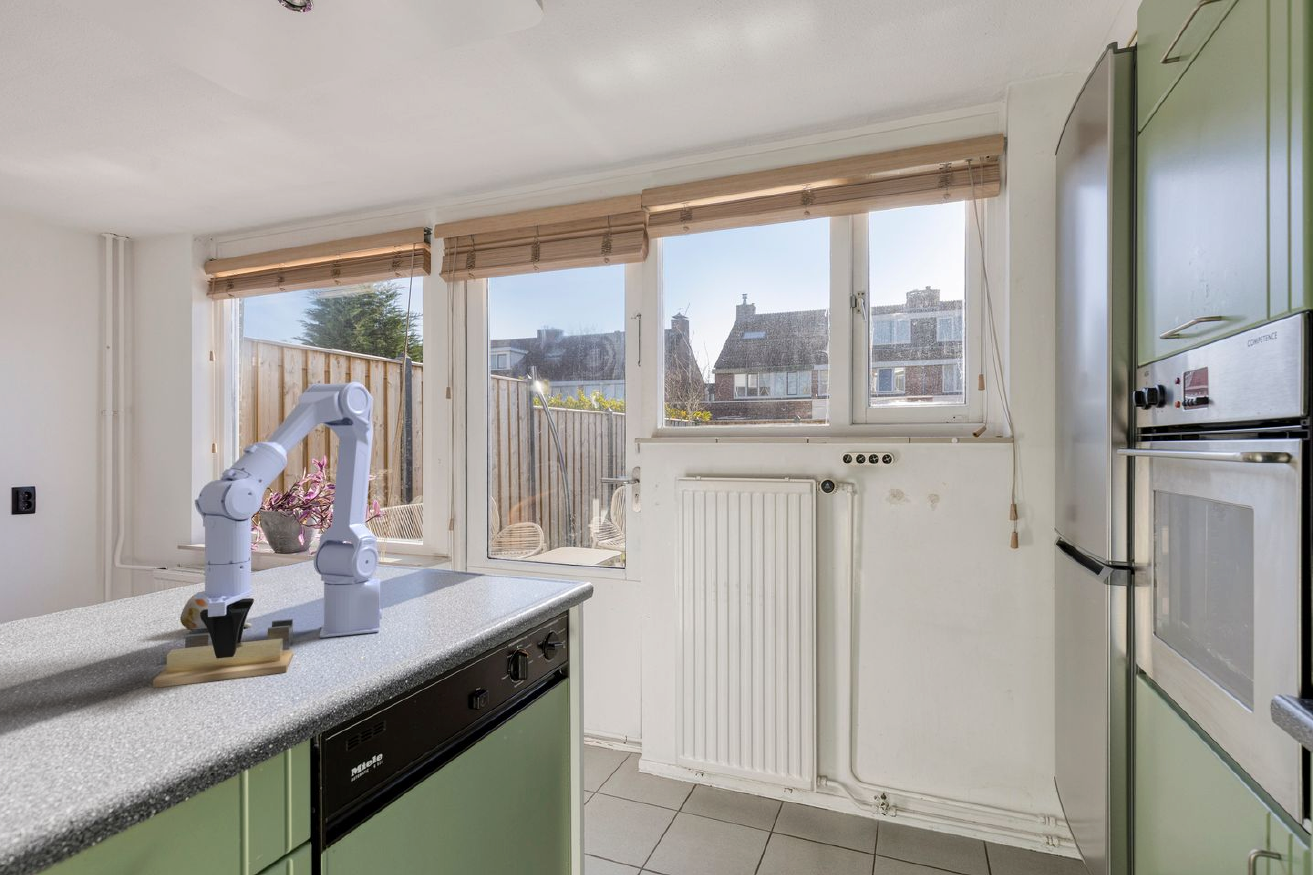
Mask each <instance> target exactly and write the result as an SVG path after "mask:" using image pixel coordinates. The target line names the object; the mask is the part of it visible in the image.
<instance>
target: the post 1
mask: <svg viewBox="0 0 1313 875" xmlns="http://www.w3.org/2000/svg"><path fill="white" fill-rule="evenodd" d="M184 642H185V643H184V645H185V646H184V648H191V647H201V646H211V645H213V644H212V640H211V637H210V634H209V631H208V629H207V627H199V628H194V629H193V631H192V634H187V635H186V636H185V641H184Z"/></svg>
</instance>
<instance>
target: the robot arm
mask: <svg viewBox="0 0 1313 875" xmlns="http://www.w3.org/2000/svg"><path fill="white" fill-rule="evenodd" d="M297 401H298V403H297V404H296V405H295V407H294V408H293V409H292V411H291V412H290V413H289V414H288V416H287V417H286V418H285V419H284V420H283V421H282V422H281V424H280V425H279V426H278V427H277V429H276V430H275V431H274V432H273V433H272V434H271V436H270V437H269V438H268V440H267V441H258V442H254V443H253V444H247V445H246V446H245V448H243V450H242V451H243V452H244V453H243V454H242V455H241V456H240V457H239V458H238V459H237V460H236V461H235V462H234V463H233V465H232V466H230V467H229V468H227V469H225V470H224V471H222V473H221V475H222V476H220V479H215V480H212V481H209V482H208V483H207V484H205V485H204V486H203V488H202V489H201V490H200V492H199V495H198V498H196V499H194V505H195V508H196V511H197V512H198V514H199V515H201V518H202V527H203V528H204V591H205V592H202V591H198V592H196V593H194V595H195V599H203V600H204V601H205V602H206V603H207V604H208V609H204V610H202V611H201V612H200V618H201V620H202V621H203V622H204V624H205V625H206V627H207V629H208V631H209V634H210V637H211V640H212V644H213V648H214V652H215V655H216V658H217V659H218V658H228V657H233V656H234V654H235V650H236V646H237V643H241V642H242V637H243V633H244V628H245V627H244V624H245V621H246V622H247V620H246V618H247V617H248V615H249V612H250V610H251V608H252V607H253V606H252V605H253V604H254V602H255V599H254V598H253V597H252V598H249V597H251V596H252V595H253V591H254V590H253V588H252V516H253V515H255V514H256V513H258V512H259V511H260V510H261V509H260V508H261V506H262V504H263V503H262V502H263V496H264V494H265V493H266V490H267V489H268V487H269V486H270V485H271V484H272V483H273V482H274V481H275V480H276V479H277V478H278V476H279V475H280V474H281V473H282V472H283V471H284V469H286V467H287V465H288V457H287V455H288V453H289V454H290V452H291V451H292V450H293V449H294V448H295V447H296V446H297V445H298V444H299V443H301V441H303V439H305V438H306V437H307V435H309V433H311V432H312V431H313V430H314V429H315V428H316V427H317V426H319V424H323V425H324V426H325V427H326V428H329V429H330V430H332V431H333V432H334V434H335V435H336V436H337V437H338V439H339V440H338V441H339V442H338V449H337V450H338V452H337V463H336V475H335V484H334V485H335V486H334V495H333V496H334V497H333V506H332V507H333V508H332V518H331V525H330V526H329V527H328V528H327V529H326V530H325V531H324V532H323V533H322V534H321V535H320V537H319V542H318V543H319V544H318V547H317V549H316V550H315V553H314V556H313V566H314V570H315V572H316V573H317V574H318V575H320V581H322V582H323V624H322V626H321V629H320V632H319V638H330V637H338V636H340V637H341V636H349V635H360V634H367V633H368V634H370V633H379V632H380V631H381V630H380V628H381V627H380V625H381V620H382V619H383V611H382V610H383V609H382V608H381V578H372V576H373V575H374V574H375V572H376V571H377V569H378V566H379V559H380V557H379V552H378V549H377V548H378V547H377V536H376V535H375V534H374V533H373V532H372V531H371V530H370V529H369V528H368V527H367V526H366V521H367V520H366V519H367V518H366V517H367V508H368V496H369V486H370V485H369V483H370V473H371V464H372V463H371V460H372V450H373V449H372V448H373V437H374V426H373V420H372V419H373V408H374V397H373V395H372V394H371V393H370V392H369V390H368V389H367V387H365V385H363V384H362V383H360V382H358V381H351V382H344V383H341V382H340V383H339V382H338V383H319V382H317V383H312V384H310V385H309V386H308V387H306V389H305V391H304V392H302V393H301V394H299V396H298V400H297Z"/></svg>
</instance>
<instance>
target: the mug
mask: <svg viewBox="0 0 1313 875" xmlns="http://www.w3.org/2000/svg"><path fill="white" fill-rule="evenodd" d="M201 592H205V590H203V591H201ZM204 609H208V604H207V603H206V602H205V601H204V600H203V599H195V594H194V595H192V596H191V597H190V598H189V599H188V600H187V602H186V603H185V605H184V607H183V609H182V611H181V613H180V614H181V615H180V617H179V618H180V623H181V625H182V626H183V627H184V628H186V629H187V630H189V631H191V632H193V629H194V628H199V627H206V625H205V624H204V622H203V621H202V620H201V618H200V612H201V611H202V610H204ZM251 627H252V623H251V622H248V621H247V618H246V621H245V624H244V628H251Z"/></svg>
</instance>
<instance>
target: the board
mask: <svg viewBox="0 0 1313 875" xmlns="http://www.w3.org/2000/svg"><path fill="white" fill-rule="evenodd" d="M293 656H294V649H293V648H292V649H291V648H289V650H283V656H282V658H281V660H280V661H273V662H264V663H255V664H246V665H237V666H228V667H219V668H210V669H201V670H192V671H183V672H174V673H167V665H166V666H165V667H164V669H162V671H161V672H160V673H158V675H157V676H156V677H155V678H154V679H153V680H152V688H154V689H155V688H162V687H163V688H164V687H172V686H181V685H188V684H197V683H198V684H199V683H204V682H213V681H215V682H216V681H223V680H231V679H240V678H248V677H249V678H250V677H255V676H256V677H257V676H266V675H274V674H282V673H287V670H288V668H289V666H290V664H291V661H292V660H293Z"/></svg>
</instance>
